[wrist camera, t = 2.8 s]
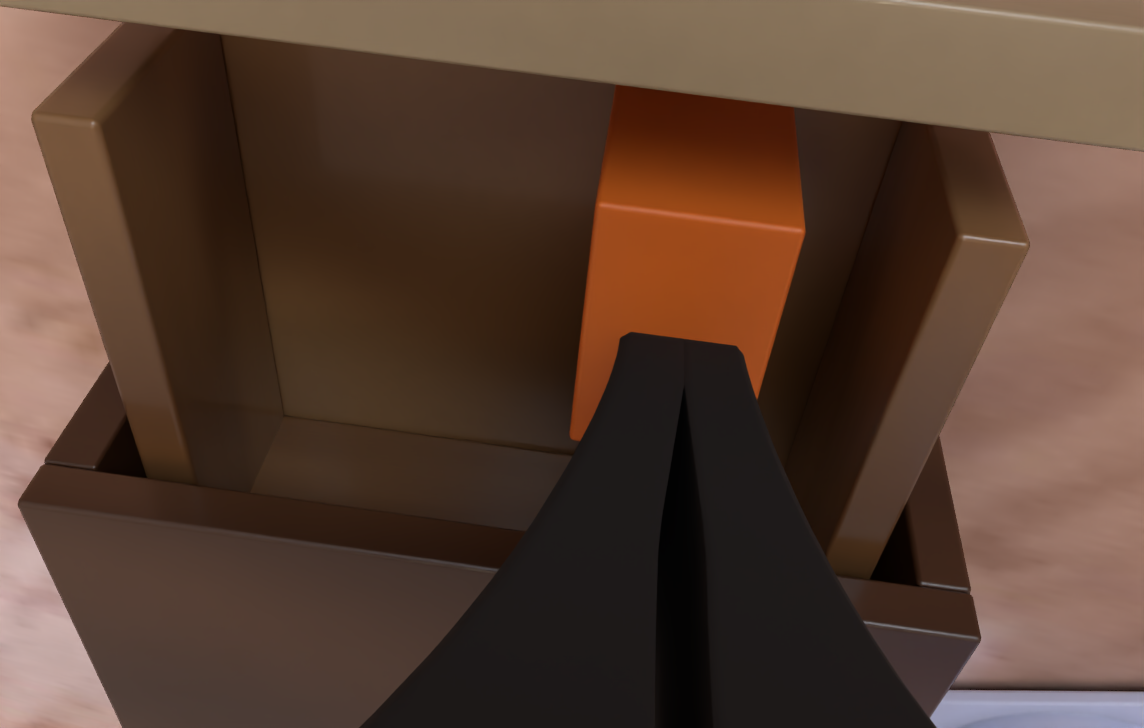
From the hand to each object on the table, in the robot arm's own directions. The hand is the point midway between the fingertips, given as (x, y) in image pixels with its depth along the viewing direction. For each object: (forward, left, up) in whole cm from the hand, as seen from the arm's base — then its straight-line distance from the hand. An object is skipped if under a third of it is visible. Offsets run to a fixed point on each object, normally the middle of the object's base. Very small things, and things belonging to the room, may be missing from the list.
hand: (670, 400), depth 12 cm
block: (-1, 0, -4) cm, 4 cm away
